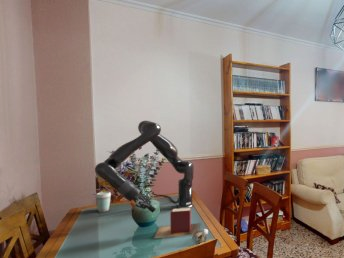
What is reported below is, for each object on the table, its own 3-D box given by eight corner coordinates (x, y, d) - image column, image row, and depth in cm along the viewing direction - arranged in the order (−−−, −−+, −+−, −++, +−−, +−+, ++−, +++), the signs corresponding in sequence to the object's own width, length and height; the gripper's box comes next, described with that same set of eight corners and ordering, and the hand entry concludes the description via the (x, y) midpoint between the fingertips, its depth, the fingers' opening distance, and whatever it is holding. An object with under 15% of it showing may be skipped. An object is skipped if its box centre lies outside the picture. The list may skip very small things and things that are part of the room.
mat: (153, 238, 134) (153, 238, 134) (159, 227, 148) (159, 227, 148) (197, 234, 140) (197, 233, 140) (199, 224, 153) (199, 223, 153)
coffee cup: (113, 209, 174) (113, 192, 173) (99, 213, 166) (98, 195, 166) (107, 207, 178) (107, 190, 177) (93, 210, 171) (93, 193, 170)
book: (170, 233, 140) (170, 212, 139) (172, 229, 145) (172, 208, 144) (189, 231, 143) (189, 210, 142) (190, 227, 147) (190, 207, 147)
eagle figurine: (191, 236, 136) (188, 241, 127) (199, 224, 137) (196, 228, 128) (203, 243, 136) (201, 248, 128) (211, 231, 138) (209, 235, 129)
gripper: (130, 188, 130) (156, 210, 134) (138, 182, 143) (162, 201, 147) (118, 199, 129) (145, 220, 133) (127, 191, 141) (152, 211, 145)
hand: (154, 210), depth 140 cm, fingers closed
